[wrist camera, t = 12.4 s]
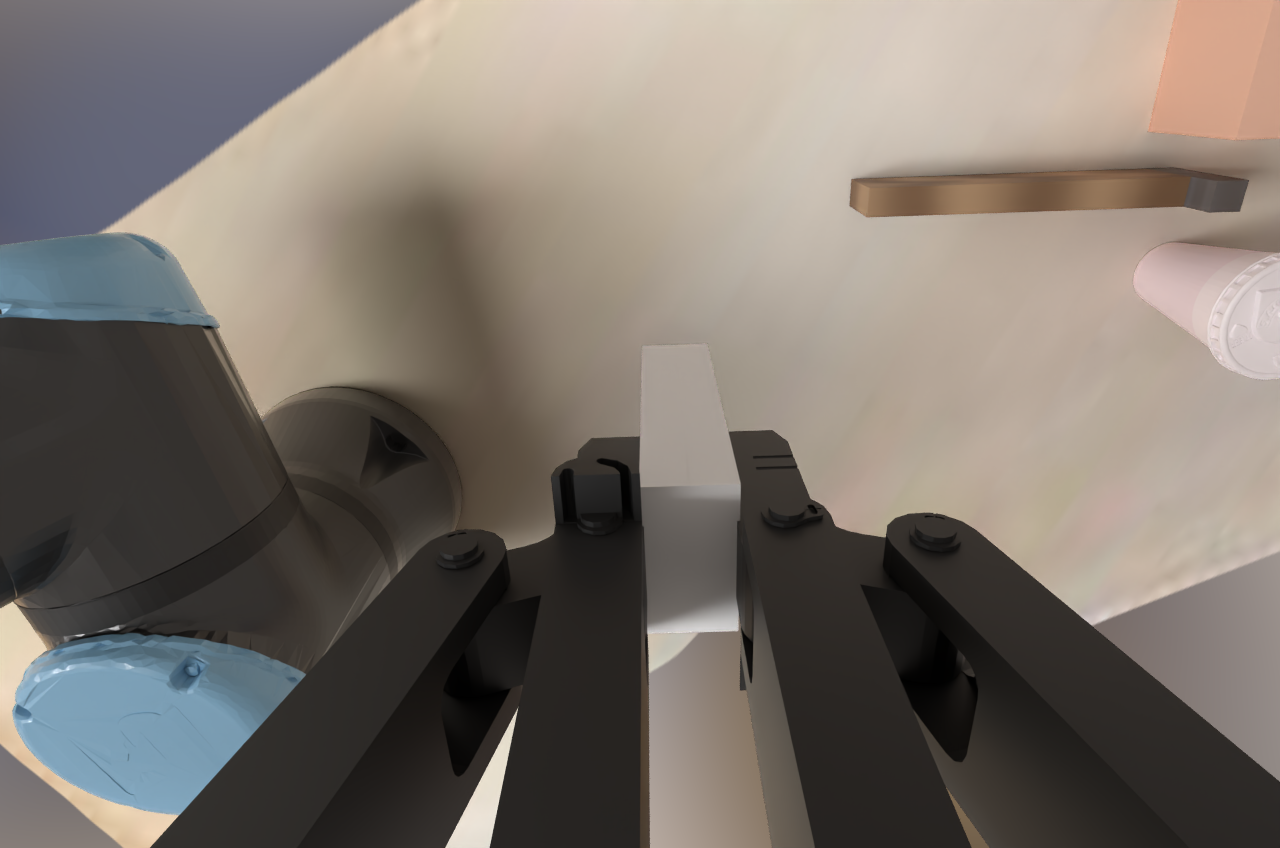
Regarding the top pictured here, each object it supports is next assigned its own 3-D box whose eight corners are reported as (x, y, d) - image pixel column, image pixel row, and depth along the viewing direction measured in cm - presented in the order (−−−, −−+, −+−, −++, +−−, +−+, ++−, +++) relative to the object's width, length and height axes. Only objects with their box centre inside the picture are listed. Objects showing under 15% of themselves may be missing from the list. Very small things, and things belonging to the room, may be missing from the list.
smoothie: (1175, 195, 42) (1394, 243, 30) (1245, 261, 44) (1483, 333, 31) (1086, 285, 45) (1256, 365, 32) (1156, 344, 46) (1344, 443, 34)
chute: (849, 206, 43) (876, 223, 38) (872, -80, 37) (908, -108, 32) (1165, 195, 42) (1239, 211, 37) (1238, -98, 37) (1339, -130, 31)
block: (1147, 131, 41) (1235, 140, 35) (1180, -14, 38) (1283, -33, 32) (1276, 126, 41) (1389, 133, 35) (1320, -21, 38) (1452, -42, 32)
